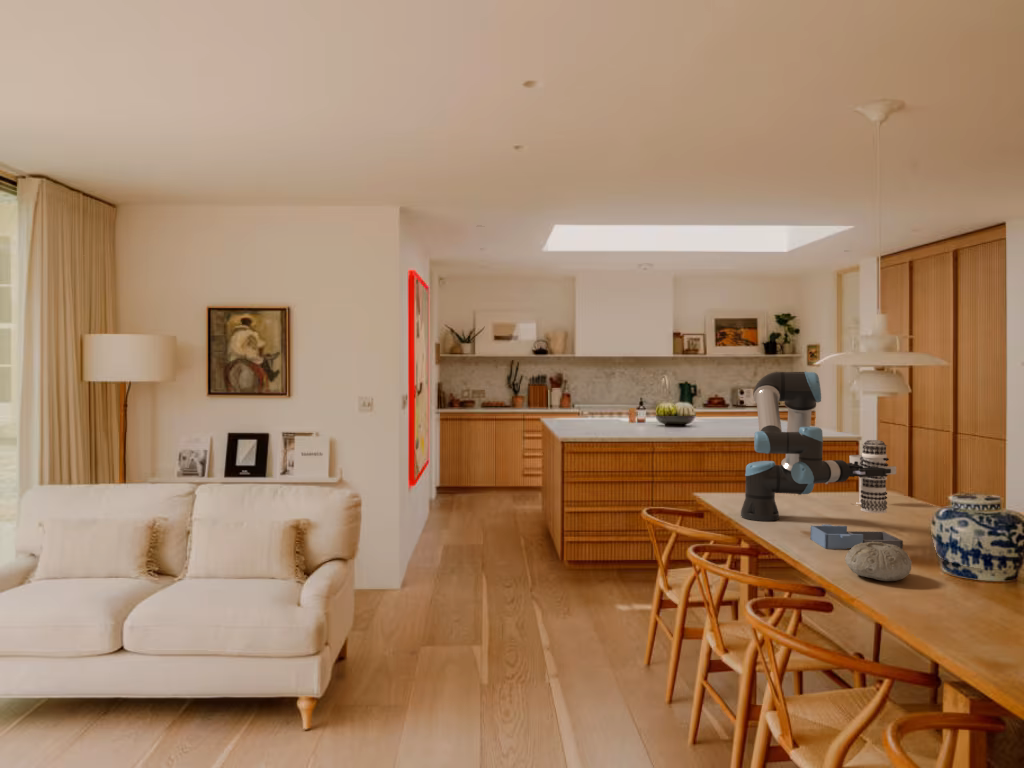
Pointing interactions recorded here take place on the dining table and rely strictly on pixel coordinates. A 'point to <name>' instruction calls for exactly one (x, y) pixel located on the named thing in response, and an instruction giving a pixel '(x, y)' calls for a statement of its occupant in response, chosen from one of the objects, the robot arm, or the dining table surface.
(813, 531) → the blue tray
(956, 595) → the dining table surface
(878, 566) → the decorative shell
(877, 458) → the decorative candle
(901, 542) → the charcoal holder
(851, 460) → the wineglass
